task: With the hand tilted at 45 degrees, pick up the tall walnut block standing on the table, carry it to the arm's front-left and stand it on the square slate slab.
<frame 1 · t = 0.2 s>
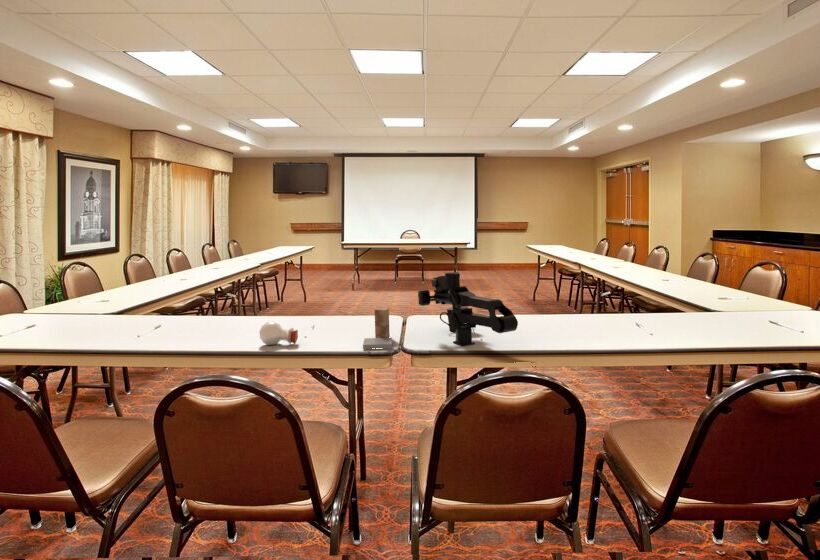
hand: (427, 294, 229), 17 cm above the table, tool horizontal, fingers open, 9 cm apart
coffee mug: (453, 331, 233), on the table
slate slab: (377, 346, 208), on the table
potion bottle: (279, 344, 215), on the table
walnut block: (382, 338, 221), on the table
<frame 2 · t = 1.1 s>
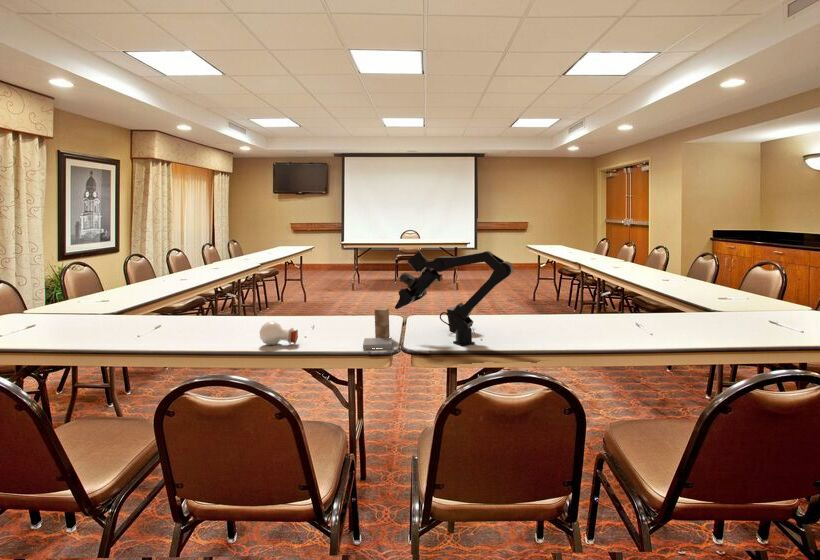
hand: (399, 306, 217), 14 cm above the table, tool tilted 45°, fingers open, 9 cm apart
nothing on the table moved.
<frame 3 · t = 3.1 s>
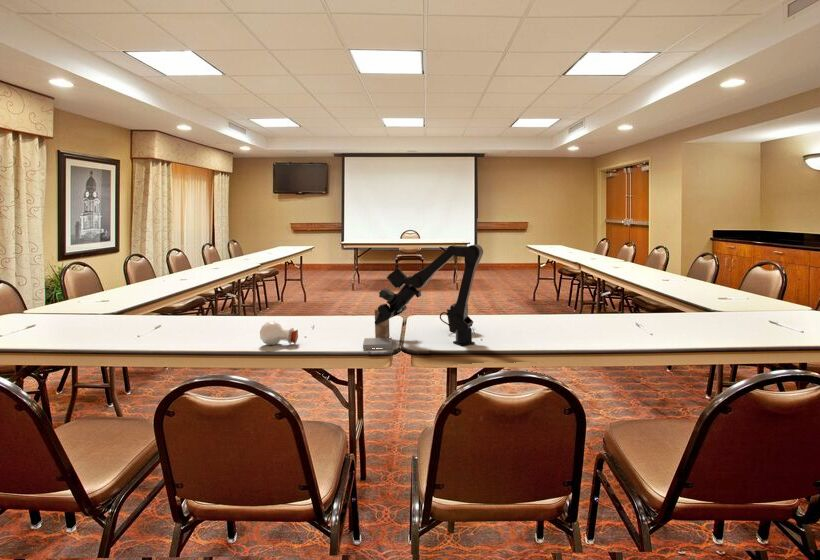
hand: (379, 321, 221), 7 cm above the table, tool tilted 45°, fingers open, 9 cm apart
nothing on the table moved.
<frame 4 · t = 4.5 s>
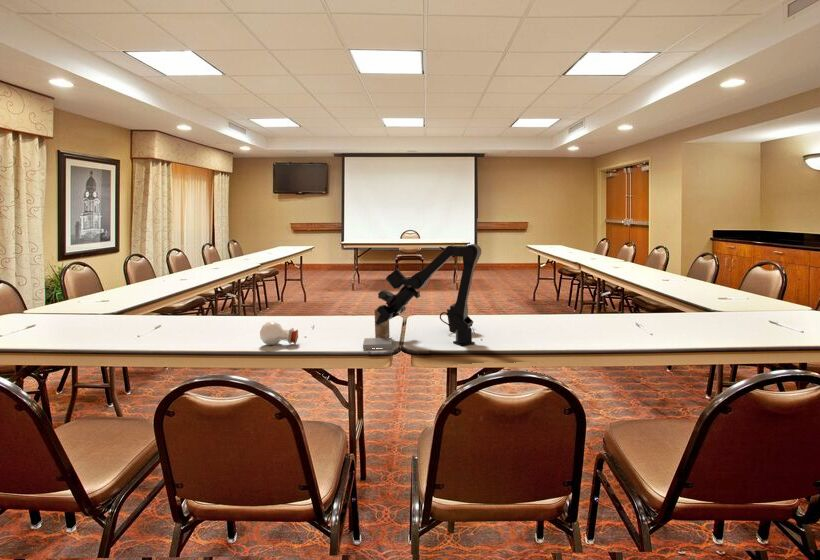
hand: (379, 322, 221), 7 cm above the table, tool tilted 45°, fingers closed on walnut block, 4 cm apart
walnut block: (382, 338, 221), on the table, touching gripper
everything else where it was.
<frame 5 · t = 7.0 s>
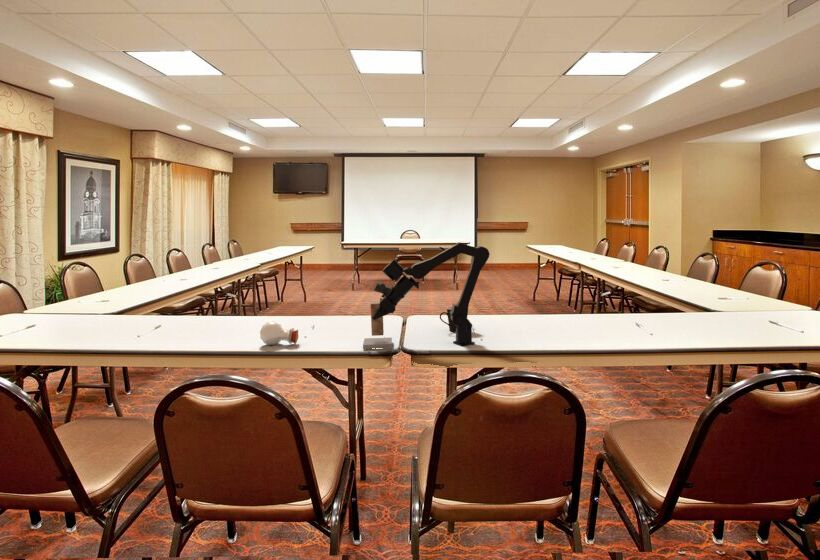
hand: (373, 317, 207), 11 cm above the table, tool tilted 45°, fingers closed on walnut block, 4 cm apart
walnut block: (377, 334, 208), point 5 cm above the table, touching gripper
everything else where it was.
when the fingers open (9 cm above the table, at t = 8.0 s): walnut block stays where it is, resting on slate slab.
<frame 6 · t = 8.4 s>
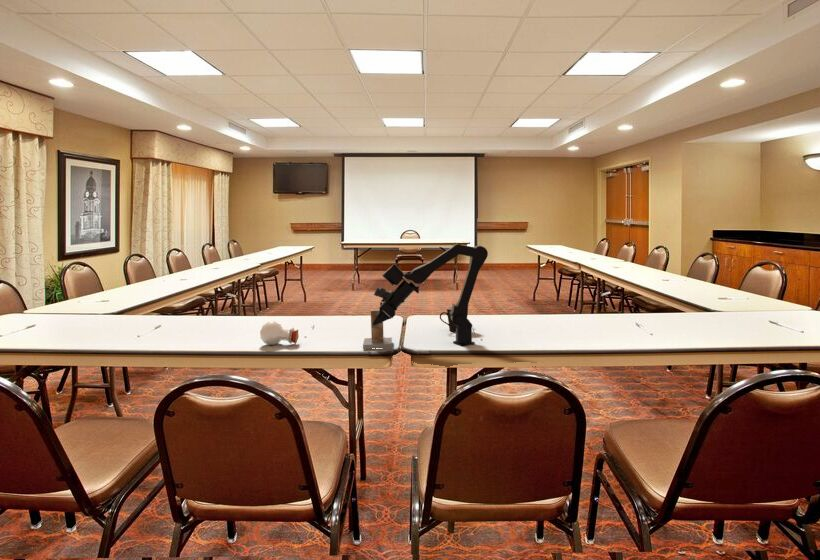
hand: (373, 322, 207), 10 cm above the table, tool tilted 45°, fingers open, 9 cm apart
walnut block: (377, 341, 208), point 2 cm above the table, touching slate slab
everything else where it was.
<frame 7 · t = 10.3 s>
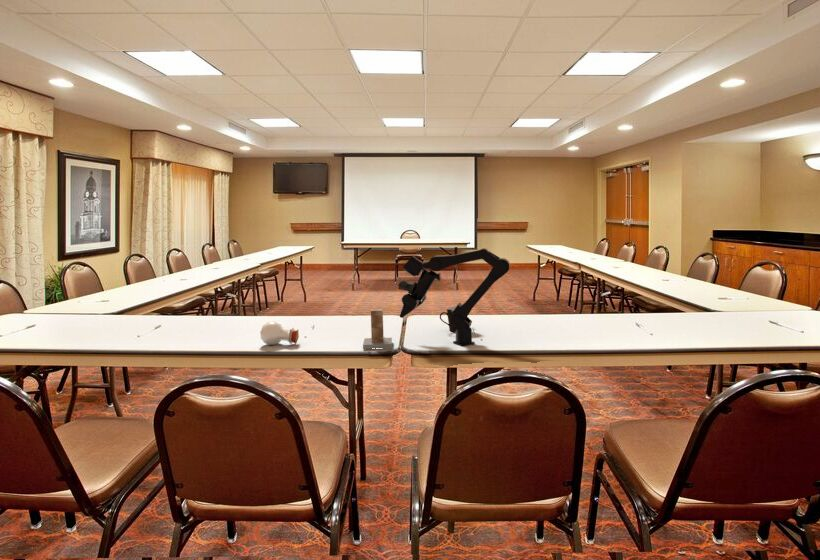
hand: (403, 315, 213), 11 cm above the table, tool tilted 35°, fingers open, 9 cm apart
nothing on the table moved.
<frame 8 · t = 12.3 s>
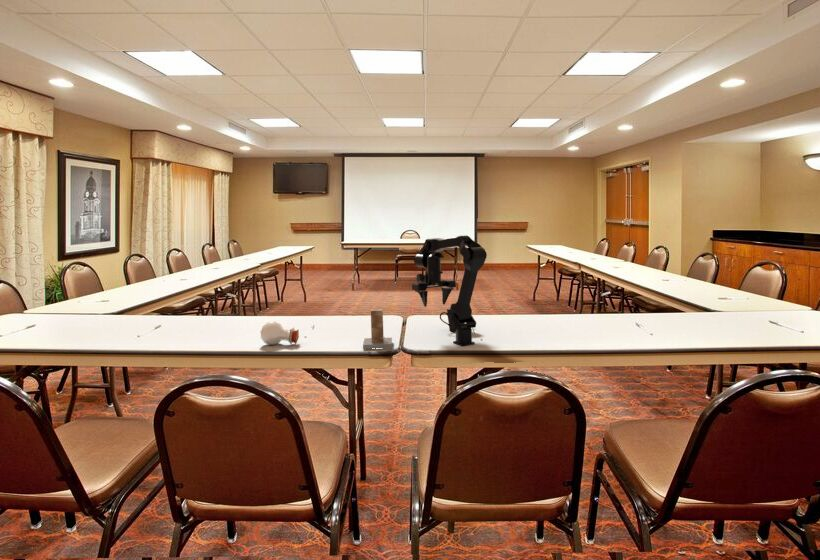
hand: (434, 305, 222), 13 cm above the table, tool pointing down, fingers open, 9 cm apart
nothing on the table moved.
at the end: walnut block inside the target area on the slate slab (0.0 cm from its centre), point 2.0 cm above the slate slab's base; walnut block tilted 0°; the gripper is holding nothing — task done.
